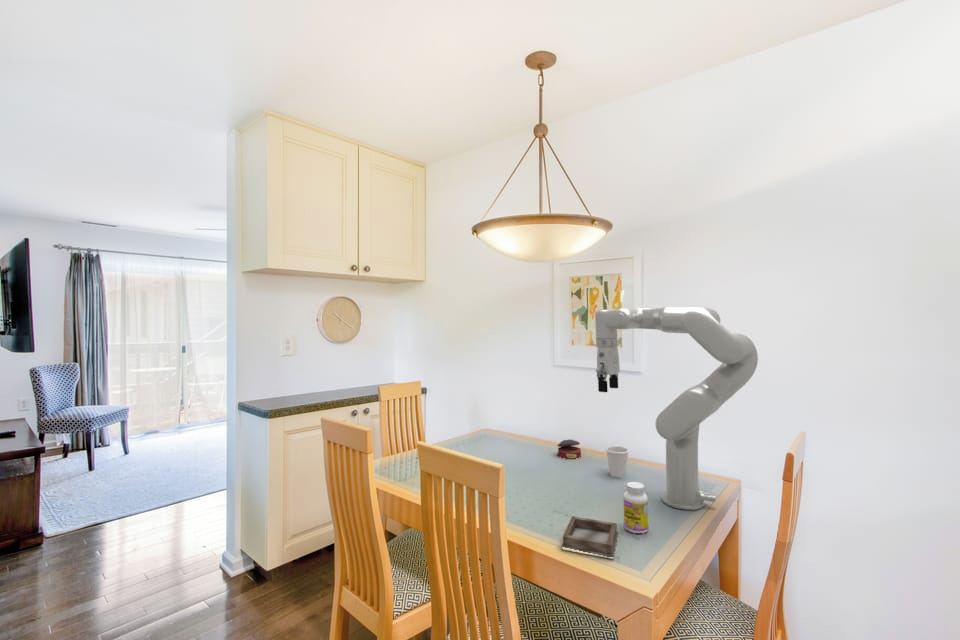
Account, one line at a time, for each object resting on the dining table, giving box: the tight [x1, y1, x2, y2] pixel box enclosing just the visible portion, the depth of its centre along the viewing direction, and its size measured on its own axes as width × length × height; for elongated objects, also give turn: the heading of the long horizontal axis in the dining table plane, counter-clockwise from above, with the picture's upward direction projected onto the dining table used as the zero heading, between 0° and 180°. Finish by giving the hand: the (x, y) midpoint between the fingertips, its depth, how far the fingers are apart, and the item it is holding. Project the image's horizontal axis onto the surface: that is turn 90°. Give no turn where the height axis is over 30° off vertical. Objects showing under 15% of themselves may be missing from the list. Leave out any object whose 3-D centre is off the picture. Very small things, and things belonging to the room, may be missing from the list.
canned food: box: [556, 439, 582, 460], centre depth 191 cm, size 11×10×10 cm
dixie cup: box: [605, 445, 630, 479], centre depth 167 cm, size 8×8×10 cm
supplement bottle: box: [623, 481, 649, 534], centre depth 125 cm, size 7×7×13 cm
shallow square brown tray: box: [561, 515, 619, 558], centre depth 118 cm, size 13×13×4 cm
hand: (608, 389), depth 159 cm, fingers open, 9 cm apart
